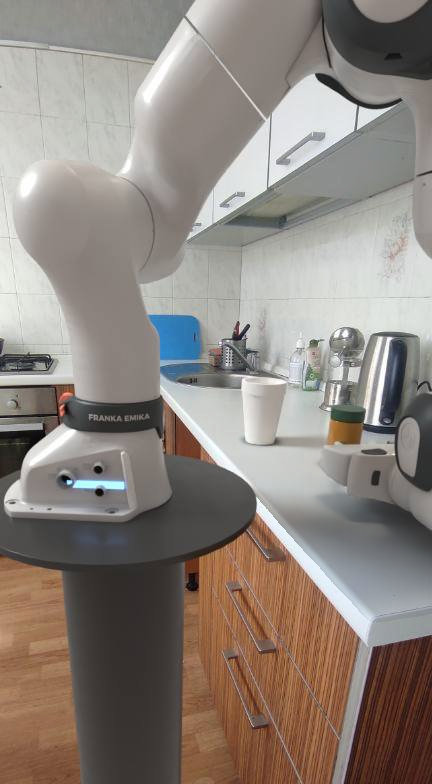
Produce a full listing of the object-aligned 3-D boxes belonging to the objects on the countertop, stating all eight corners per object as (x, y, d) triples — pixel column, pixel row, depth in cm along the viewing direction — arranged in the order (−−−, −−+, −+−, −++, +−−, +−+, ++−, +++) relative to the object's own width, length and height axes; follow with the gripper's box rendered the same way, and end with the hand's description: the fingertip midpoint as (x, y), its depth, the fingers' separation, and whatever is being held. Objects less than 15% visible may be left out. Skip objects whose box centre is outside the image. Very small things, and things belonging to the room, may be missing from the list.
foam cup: (232, 435, 104) (235, 377, 100) (270, 433, 107) (275, 376, 103) (248, 448, 96) (252, 385, 91) (288, 445, 99) (294, 384, 94)
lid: (337, 422, 81) (339, 411, 81) (324, 414, 87) (325, 404, 86) (370, 422, 82) (372, 411, 82) (355, 414, 88) (356, 404, 87)
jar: (331, 471, 85) (339, 414, 81) (319, 461, 90) (326, 407, 86) (362, 471, 86) (371, 414, 82) (348, 460, 91) (356, 407, 87)
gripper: (481, 451, 66) (424, 426, 79) (346, 454, 63) (309, 427, 75) (470, 492, 68) (417, 461, 81) (340, 497, 65) (305, 464, 78)
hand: (364, 445), depth 78 cm, fingers open, 8 cm apart
